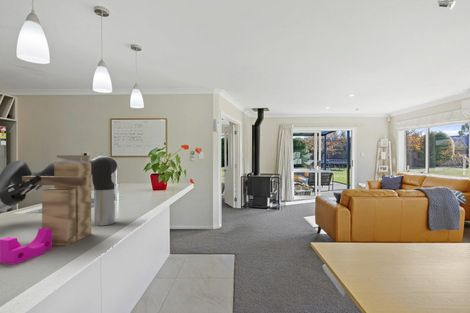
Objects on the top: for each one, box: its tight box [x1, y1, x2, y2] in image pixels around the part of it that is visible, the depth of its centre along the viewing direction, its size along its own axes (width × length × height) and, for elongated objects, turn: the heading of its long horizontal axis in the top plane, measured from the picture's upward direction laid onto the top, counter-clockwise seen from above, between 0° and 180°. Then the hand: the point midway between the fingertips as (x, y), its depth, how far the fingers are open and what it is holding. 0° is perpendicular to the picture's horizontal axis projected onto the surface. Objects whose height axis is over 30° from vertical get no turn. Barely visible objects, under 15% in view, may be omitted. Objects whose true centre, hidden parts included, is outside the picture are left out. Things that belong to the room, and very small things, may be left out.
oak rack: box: [41, 154, 92, 246], centre depth 113 cm, size 16×10×34 cm, turn 176°
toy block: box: [0, 227, 53, 265], centre depth 95 cm, size 15×6×8 cm, turn 164°
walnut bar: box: [22, 176, 86, 186], centre depth 107 cm, size 3×24×3 cm, turn 86°
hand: (43, 176), depth 108 cm, fingers closed on walnut bar, 3 cm apart
